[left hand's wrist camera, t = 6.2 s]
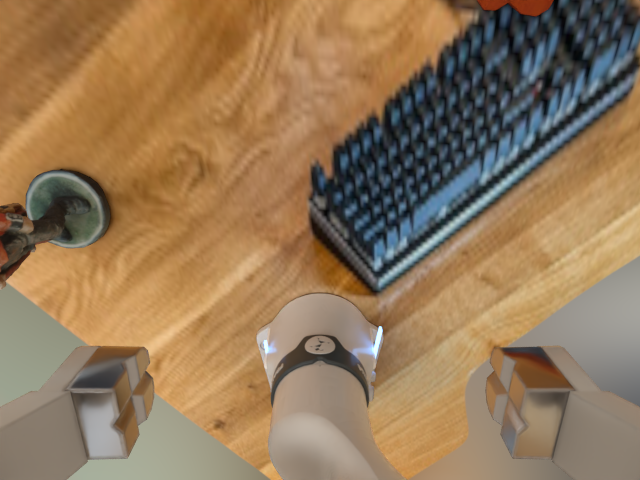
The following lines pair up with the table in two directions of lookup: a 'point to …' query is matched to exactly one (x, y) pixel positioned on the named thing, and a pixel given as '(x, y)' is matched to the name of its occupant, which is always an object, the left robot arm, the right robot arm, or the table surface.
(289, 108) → the table surface
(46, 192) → the figurine
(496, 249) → the table surface
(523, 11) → the toy
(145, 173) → the table surface
